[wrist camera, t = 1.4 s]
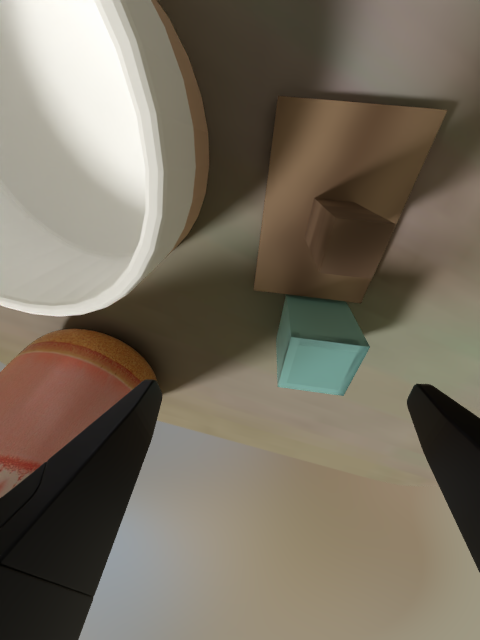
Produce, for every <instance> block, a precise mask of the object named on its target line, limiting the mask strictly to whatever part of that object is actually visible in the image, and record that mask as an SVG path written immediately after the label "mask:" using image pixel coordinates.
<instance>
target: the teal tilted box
mask: <svg viewBox="0 0 480 640" xmlns="http://www.w3.org/2000/svg"><path fill="white" fill-rule="evenodd" d="M276 347H277V378H278V387H283V388H290V389H297V390H305V391H312V392H319V393H326V394H334V395H341V396H344V394H345V392H346V390H347V388H348V386H349V385H350V383H351V381H352V379H353V377H354V375H355V374H356V372H357V370H358V368H359V366H360V364H361V363H362V361H363V359H364V357H365V355H366V353H367V352H368V350H369V348H370V346H369V344H368V342H367V341H366V339H365V337H364V335H363V333H362V331H361V329H360V327H359V325H358V323H357V322H356V320H355V318H354V316H353V314H352V312H351V310H350V308H349V306H348V304H347V302H346V301H338V300H330V299H322V298H313V297H305V296H297V295H288V294H286V297H285V302H284V306H283V311H282V315H281V320H280V324H279V329H278V333H277V338H276Z"/></svg>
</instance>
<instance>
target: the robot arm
mask: <svg viewBox="0 0 480 640" xmlns="http://www.w3.org/2000/svg"><path fill="white" fill-rule="evenodd" d="M161 401H162V392H161V390H160V388H159V385H158V383H157V381H156V380H152V379H146V380H144V381H142V382H141V383H140V384H139V385H137V386H136V387H135V388H134V389H133V390H131V391H130V392H129V393H128V394H127V395H125V396H124V397H123V398H122V399H121V400H119V401H118V402H117V403H116V404H114V405H113V406H112V407H111V408H110V409H108V410H107V411H106V412H105V413H104V414H102V415H101V416H100V417H99V418H98V419H96V420H95V421H94V422H93V423H92V424H90V425H89V426H88V427H87V428H86V429H84V430H83V431H82V432H81V433H80V434H78V435H77V436H76V437H75V438H74V439H72V440H71V441H70V442H69V443H67V444H66V445H65V446H64V447H63V448H61V449H60V450H59V451H58V452H57V453H55V454H54V455H53V456H52V457H51V458H49V459H48V461H47V462H44V463H43V464H42V465H41V466H40V467H38V468H37V469H36V470H35V471H34V472H32V473H31V474H30V475H29V476H27V477H26V478H25V479H24V480H23V481H21V482H20V483H19V484H18V485H16V486H15V487H14V488H13V489H11V490H10V491H9V492H7V493H6V494H5V495H4V496H2V497H1V498H0V640H78V639H79V636H80V633H81V631H82V628H83V625H84V623H85V620H86V617H87V614H88V612H89V609H90V606H91V603H92V601H93V596H94V595H95V592H96V589H97V587H98V584H99V581H100V578H101V576H102V573H103V570H104V568H105V565H106V562H107V559H108V557H109V554H110V551H111V549H112V546H113V543H114V540H115V538H116V535H117V532H118V529H119V527H120V524H121V521H122V519H123V516H124V513H125V511H126V508H127V505H128V502H129V499H130V497H131V494H132V491H133V489H134V486H135V483H136V481H137V478H138V475H139V472H140V470H141V467H142V464H143V462H144V459H145V456H146V453H147V451H148V448H149V445H150V442H151V439H152V435H153V432H154V429H155V424H156V421H157V417H158V413H159V409H160V405H161ZM407 406H408V409H409V412H410V415H411V418H412V421H413V424H414V427H415V430H416V432H417V435H418V438H419V441H420V444H421V447H422V449H423V452H424V454H425V457H426V459H427V461H428V463H429V465H430V468H431V470H432V472H433V474H434V476H435V478H436V480H437V483H438V485H439V487H440V489H441V491H442V493H443V495H444V497H445V500H446V502H447V504H448V506H449V508H450V510H451V512H452V514H453V517H454V519H455V521H456V523H457V525H458V527H459V530H460V532H461V534H462V536H463V538H464V540H465V542H466V544H467V546H468V549H469V551H470V553H471V555H472V557H473V559H474V562H475V563H476V566H477V568H478V570H479V572H480V418H479V417H477V416H476V415H474V414H473V413H471V412H470V411H469V410H467V409H466V408H464V407H463V406H461V405H460V404H458V403H457V402H456V401H454V400H453V399H451V398H450V397H448V396H447V395H445V394H444V393H443V392H441V391H440V390H438V389H437V388H435V387H434V386H432V385H430V384H416V385H414V387H413V389H412V391H411V393H410V395H409V397H408V399H407Z"/></svg>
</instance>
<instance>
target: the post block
mask: <svg viewBox="0 0 480 640" xmlns="http://www.w3.org/2000/svg"><path fill="white" fill-rule="evenodd" d="M446 113H447V110H442V109H430V108H418V107H406V106H394V105H382V104H370V103H358V102H346V101H334V100H322V99H310V98H298V97H286V96H278V99H277V107H276V115H275V123H274V131H273V139H272V147H271V155H270V163H269V171H268V179H267V187H266V195H265V203H264V211H263V219H262V227H261V234H260V242H259V250H258V258H257V266H256V274H255V282H254V290H255V291H264V292H272V293H280V294H288V295H297V296H305V297H313V298H322V299H330V300H338V301H347V302H355V303H361V302H362V300H363V298H364V295H365V293H366V291H367V289H368V286H369V284H370V282H371V280H372V278H373V275H374V273H375V271H376V269H377V266H378V264H379V262H380V260H381V257H382V255H383V253H384V251H385V249H386V246H387V244H388V242H389V240H390V237H391V235H392V233H393V231H394V228H395V226H396V224H397V222H398V220H399V217H400V215H401V213H402V211H403V208H404V206H405V204H406V202H407V200H408V197H409V195H410V193H411V191H412V188H413V186H414V184H415V182H416V179H417V177H418V175H419V173H420V171H421V168H422V166H423V164H424V162H425V159H426V157H427V155H428V153H429V150H430V148H431V146H432V144H433V142H434V139H435V137H436V135H437V133H438V130H439V128H440V126H441V124H442V121H443V119H444V117H445V115H446Z"/></svg>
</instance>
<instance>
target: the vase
mask: <svg viewBox="0 0 480 640" xmlns="http://www.w3.org/2000/svg"><path fill="white" fill-rule="evenodd" d="M146 379H152V380H156V381H157V378H156V376H155V374H154V372H153V370H152V368H151V367H150V365H149V364H148V362H147V361H146V360H145V359H144V358H143V357H142V356H141V355H140V354H139V353H138V352H137V351H136V350H134V349H133V348H132V347H130V346H129V345H127V344H126V343H124V342H122V341H120V340H118V339H116V338H114V337H112V336H109V335H107V334H104V333H100V332H96V331H92V330H86V329H63V330H58V331H54V332H51V333H48V334H46V335H44V336H42V337H40V338H38V339H36V340H35V341H33V342H32V343H31V344H29V345H28V346H27V347H26V348H25V349H24V350H23V351H21V352H20V353H19V354H18V355H17V356H16V357H15V358H14V359H13V360H12V361H11V362H10V363H9V364H8V365H7V366H6V367H5V368H4V369H3V370H2V371H1V372H0V498H1V497H2V496H4V495H5V494H6V493H7V492H9V491H10V490H11V489H13V488H14V487H15V486H16V485H18V484H19V483H20V482H21V481H23V480H24V479H25V478H26V477H27V476H29V475H30V474H31V473H32V472H34V471H35V470H36V469H37V468H38V467H40V466H41V465H42V464H43V463H44V462H47V461H48V459H49V458H51V457H52V456H53V455H54V454H55V453H57V452H58V451H59V450H60V449H61V448H63V447H64V446H65V445H66V444H67V443H69V442H70V441H71V440H72V439H74V438H75V437H76V436H77V435H78V434H80V433H81V432H82V431H83V430H84V429H86V428H87V427H88V426H89V425H90V424H92V423H93V422H94V421H95V420H96V419H98V418H99V417H100V416H101V415H102V414H104V413H105V412H106V411H107V410H108V409H110V408H111V407H112V406H113V405H114V404H116V403H117V402H118V401H119V400H121V399H122V398H123V397H124V396H125V395H127V394H128V393H129V392H130V391H131V390H133V389H134V388H135V387H136V386H137V385H139V384H140V383H141V382H142V381H144V380H146ZM157 383H158V382H157Z"/></svg>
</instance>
